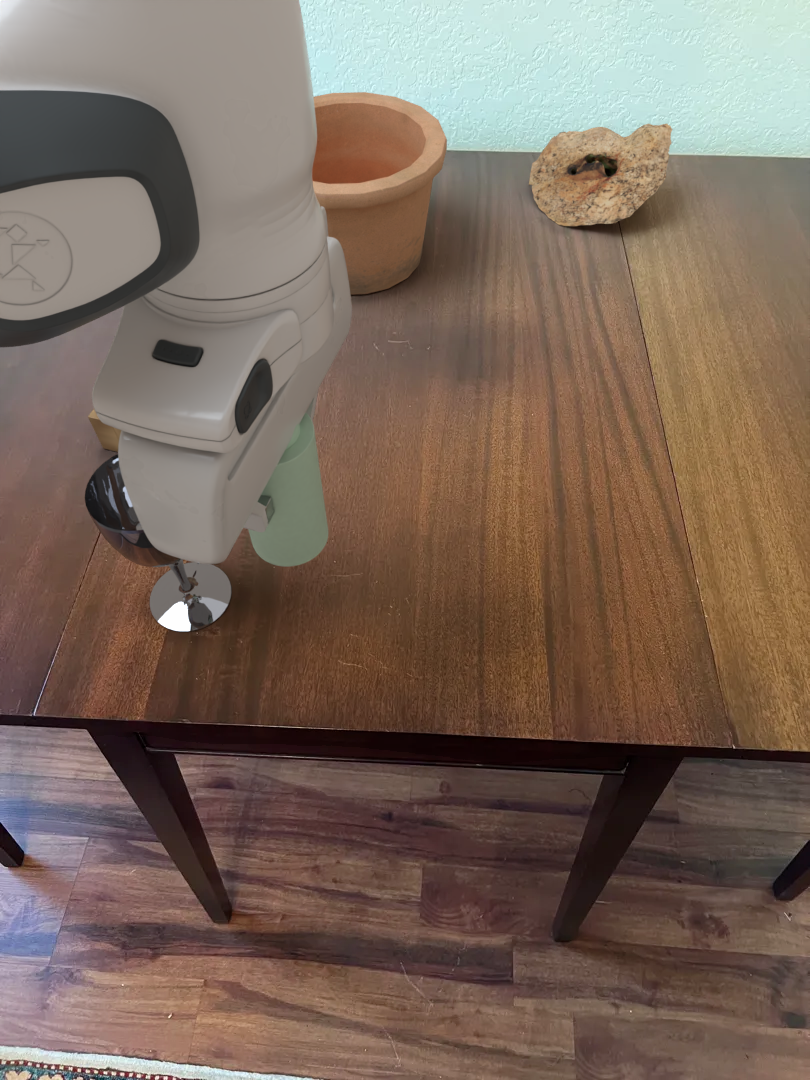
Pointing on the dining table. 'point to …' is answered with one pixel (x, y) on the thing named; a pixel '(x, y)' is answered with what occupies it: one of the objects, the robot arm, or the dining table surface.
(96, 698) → the dining table surface
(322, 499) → the bottle
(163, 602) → the wine glass
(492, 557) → the dining table surface
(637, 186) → the rough tan rock
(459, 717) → the dining table surface
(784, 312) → the dining table surface
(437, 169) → the pottery
